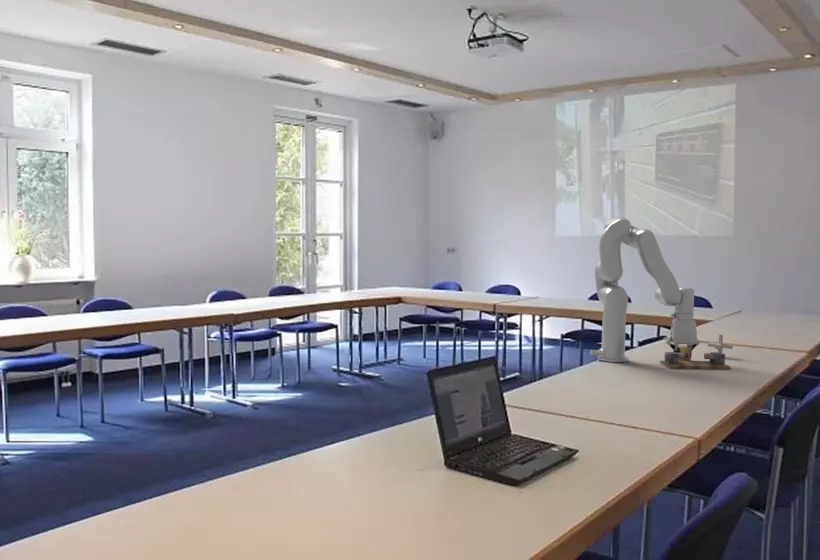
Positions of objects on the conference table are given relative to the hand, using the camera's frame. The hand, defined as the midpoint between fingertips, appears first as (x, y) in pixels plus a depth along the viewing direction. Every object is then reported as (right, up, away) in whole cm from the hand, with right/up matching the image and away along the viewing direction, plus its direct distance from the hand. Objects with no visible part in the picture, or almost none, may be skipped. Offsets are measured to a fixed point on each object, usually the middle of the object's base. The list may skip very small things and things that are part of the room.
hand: (682, 359), depth 314 cm
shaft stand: (0, -2, -13) cm, 13 cm away
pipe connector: (+20, 0, +10) cm, 23 cm away
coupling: (0, -1, 0) cm, 1 cm away
